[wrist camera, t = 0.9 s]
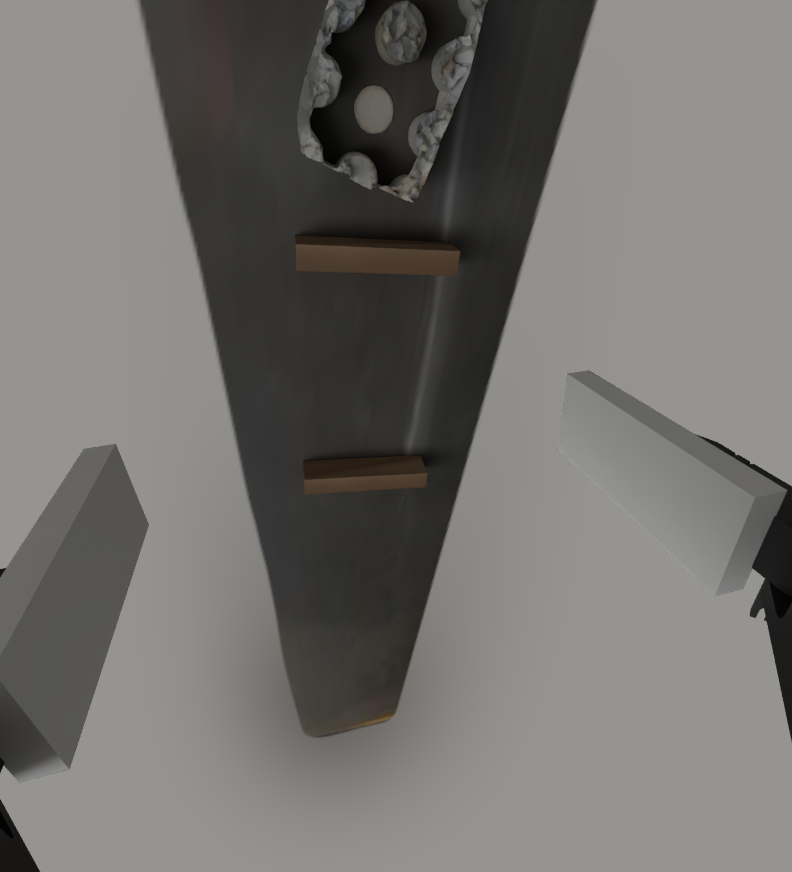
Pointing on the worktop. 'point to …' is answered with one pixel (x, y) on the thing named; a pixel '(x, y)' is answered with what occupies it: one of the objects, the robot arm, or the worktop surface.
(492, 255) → the worktop surface
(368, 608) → the worktop surface
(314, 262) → the parallel wooden rails
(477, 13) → the egg carton
